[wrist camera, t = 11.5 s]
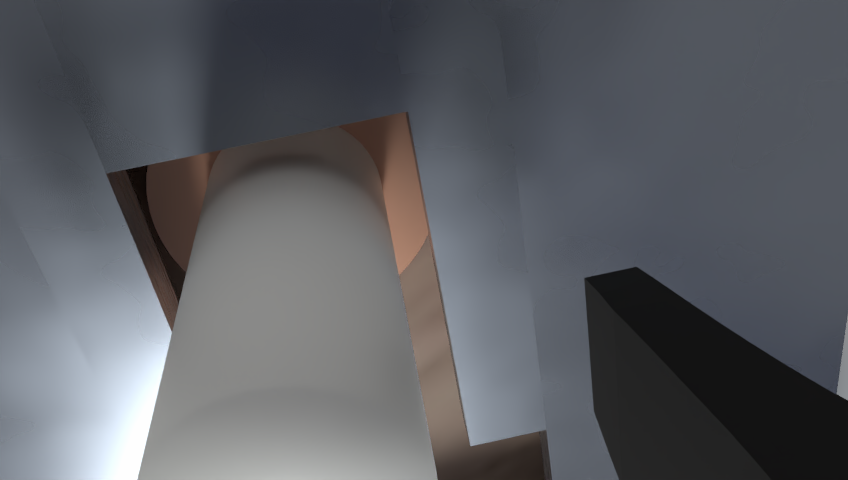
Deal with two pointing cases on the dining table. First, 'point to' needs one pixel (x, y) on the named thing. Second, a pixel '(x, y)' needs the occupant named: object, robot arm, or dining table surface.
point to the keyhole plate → (426, 187)
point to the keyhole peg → (291, 310)
